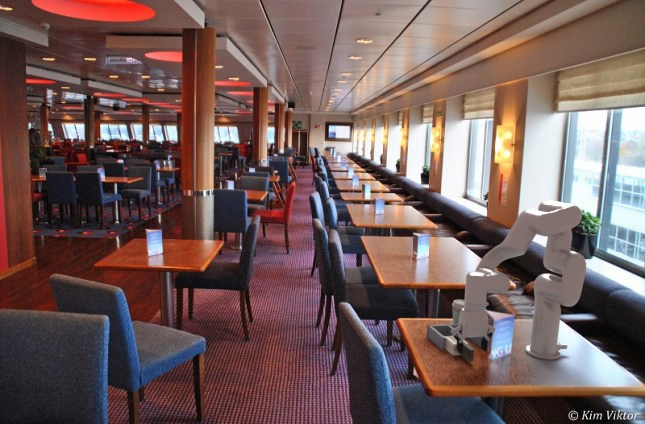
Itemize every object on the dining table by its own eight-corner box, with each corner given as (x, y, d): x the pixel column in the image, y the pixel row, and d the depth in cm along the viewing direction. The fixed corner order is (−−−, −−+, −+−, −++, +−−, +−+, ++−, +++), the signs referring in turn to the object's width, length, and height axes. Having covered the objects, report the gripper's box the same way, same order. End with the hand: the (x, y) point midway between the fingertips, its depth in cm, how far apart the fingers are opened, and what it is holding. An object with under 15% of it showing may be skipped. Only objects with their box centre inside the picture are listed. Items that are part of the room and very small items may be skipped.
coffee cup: (472, 332, 226) (475, 305, 224) (452, 331, 226) (454, 304, 224) (467, 325, 234) (469, 299, 233) (448, 324, 234) (450, 298, 233)
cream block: (457, 346, 210) (458, 333, 209) (478, 363, 194) (479, 349, 194) (443, 347, 208) (444, 333, 207) (463, 364, 193) (464, 350, 192)
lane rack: (465, 334, 223) (467, 323, 222) (483, 348, 210) (484, 335, 209) (426, 336, 219) (427, 325, 218) (442, 350, 205) (443, 337, 205)
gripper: (490, 301, 198) (487, 345, 200) (448, 304, 193) (445, 348, 196) (502, 308, 190) (498, 353, 193) (458, 310, 186) (455, 357, 189)
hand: (471, 350), depth 194 cm, fingers open, 9 cm apart
